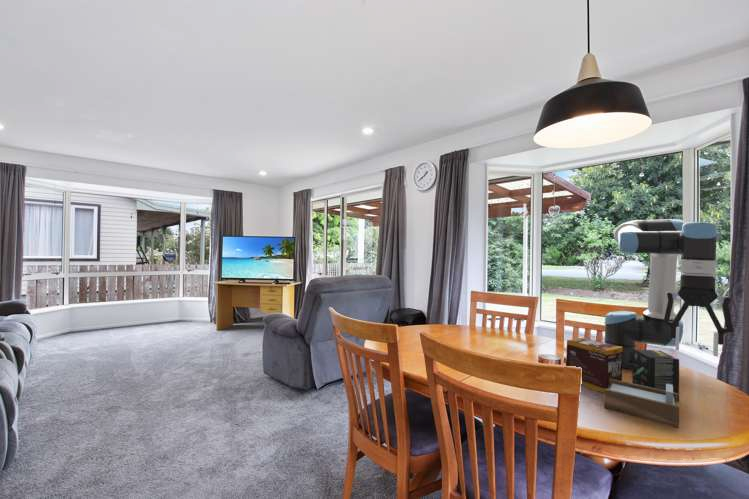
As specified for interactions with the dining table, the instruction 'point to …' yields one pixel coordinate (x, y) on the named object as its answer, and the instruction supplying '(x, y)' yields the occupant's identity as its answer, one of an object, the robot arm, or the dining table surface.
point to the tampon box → (655, 369)
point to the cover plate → (647, 393)
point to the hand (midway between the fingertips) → (695, 352)
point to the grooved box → (642, 404)
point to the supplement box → (595, 361)
